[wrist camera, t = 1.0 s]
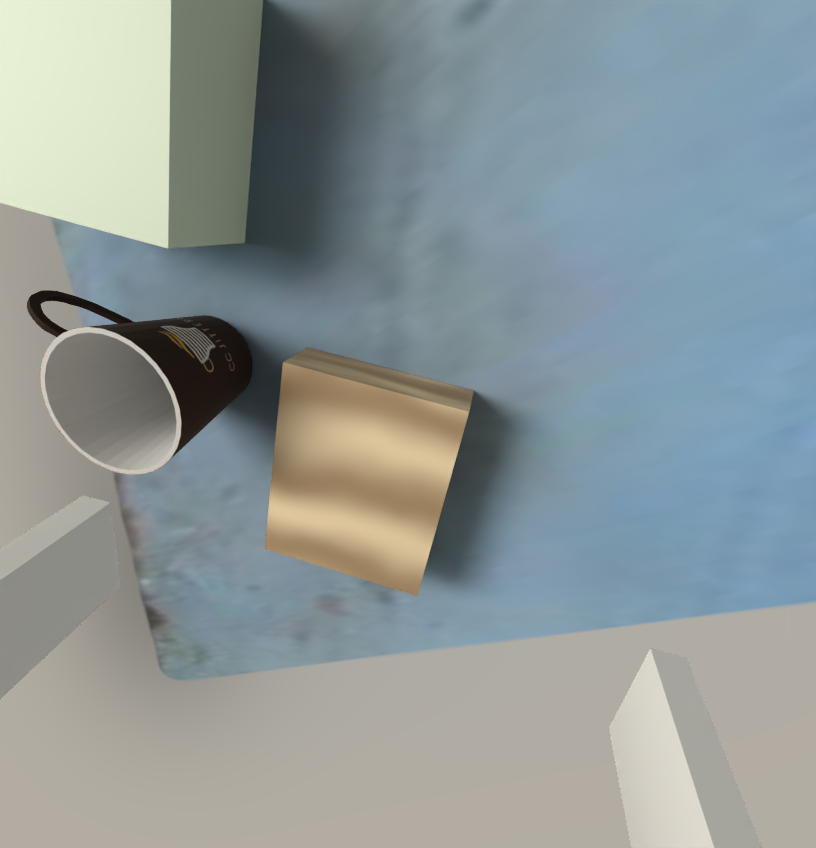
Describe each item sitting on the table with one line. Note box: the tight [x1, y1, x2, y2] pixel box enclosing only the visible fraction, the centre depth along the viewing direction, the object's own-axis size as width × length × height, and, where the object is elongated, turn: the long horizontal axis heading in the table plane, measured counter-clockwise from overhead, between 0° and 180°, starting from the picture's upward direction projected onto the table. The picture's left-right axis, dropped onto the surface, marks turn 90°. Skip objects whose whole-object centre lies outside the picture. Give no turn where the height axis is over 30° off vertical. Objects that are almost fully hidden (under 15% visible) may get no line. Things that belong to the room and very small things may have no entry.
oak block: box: [265, 347, 474, 596], centre depth 34 cm, size 15×12×4 cm
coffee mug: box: [27, 291, 252, 474], centre depth 30 cm, size 12×9×10 cm
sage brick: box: [0, 0, 263, 249], centre depth 26 cm, size 13×10×8 cm
